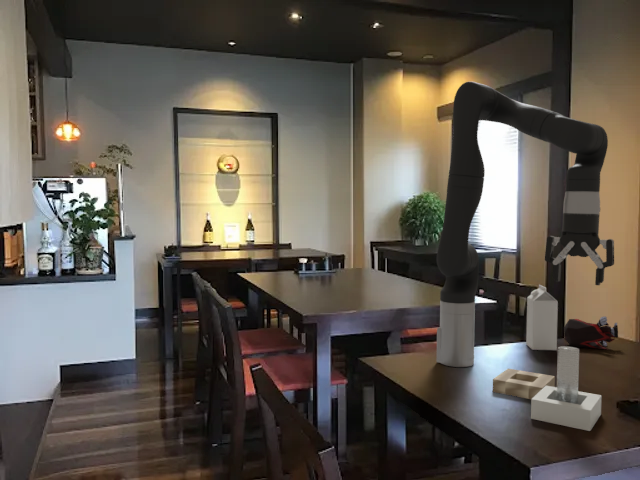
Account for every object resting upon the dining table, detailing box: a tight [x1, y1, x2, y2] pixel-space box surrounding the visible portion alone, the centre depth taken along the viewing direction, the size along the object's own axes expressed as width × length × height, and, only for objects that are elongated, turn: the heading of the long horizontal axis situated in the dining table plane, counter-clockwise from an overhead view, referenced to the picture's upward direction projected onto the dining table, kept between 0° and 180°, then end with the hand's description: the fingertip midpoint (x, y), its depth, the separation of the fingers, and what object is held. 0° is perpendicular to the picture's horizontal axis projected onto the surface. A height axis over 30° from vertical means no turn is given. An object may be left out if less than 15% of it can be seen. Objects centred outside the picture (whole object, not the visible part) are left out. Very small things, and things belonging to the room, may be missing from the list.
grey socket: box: [530, 386, 602, 432], centre depth 116 cm, size 11×11×4 cm
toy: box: [563, 316, 619, 351], centre depth 175 cm, size 12×9×15 cm
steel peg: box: [556, 345, 580, 404], centre depth 116 cm, size 4×4×14 cm
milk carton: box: [525, 284, 559, 351], centre depth 173 cm, size 7×7×19 cm
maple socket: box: [492, 368, 556, 400], centre depth 133 cm, size 11×11×3 cm
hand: (577, 283), depth 130 cm, fingers open, 8 cm apart
